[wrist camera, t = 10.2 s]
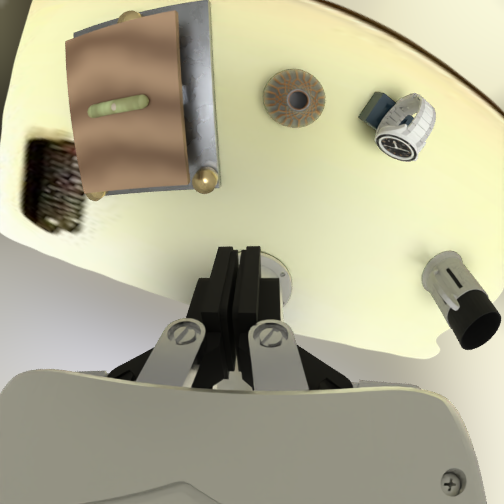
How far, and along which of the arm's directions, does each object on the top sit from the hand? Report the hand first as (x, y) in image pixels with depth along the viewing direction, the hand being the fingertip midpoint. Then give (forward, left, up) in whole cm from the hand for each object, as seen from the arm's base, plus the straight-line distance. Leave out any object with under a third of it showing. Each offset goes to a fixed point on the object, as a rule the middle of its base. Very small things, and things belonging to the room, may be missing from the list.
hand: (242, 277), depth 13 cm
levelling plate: (+7, +15, -23) cm, 28 cm away
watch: (+4, -16, -29) cm, 34 cm away
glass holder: (-19, -29, -29) cm, 45 cm away
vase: (+6, -4, -29) cm, 30 cm away
